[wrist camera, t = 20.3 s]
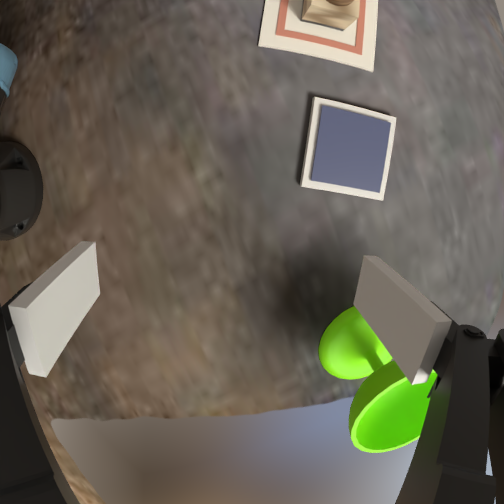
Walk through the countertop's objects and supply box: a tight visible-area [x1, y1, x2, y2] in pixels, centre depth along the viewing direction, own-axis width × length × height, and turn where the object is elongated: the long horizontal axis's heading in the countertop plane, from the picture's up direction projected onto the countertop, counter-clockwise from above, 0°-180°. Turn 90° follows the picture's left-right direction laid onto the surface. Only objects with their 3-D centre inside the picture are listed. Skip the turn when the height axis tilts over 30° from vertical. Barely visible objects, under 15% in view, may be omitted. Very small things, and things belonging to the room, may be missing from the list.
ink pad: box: [300, 97, 396, 201], centre depth 40 cm, size 12×12×2 cm
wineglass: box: [318, 306, 437, 453], centre depth 43 cm, size 16×16×18 cm
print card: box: [258, 0, 378, 72], centre depth 34 cm, size 16×16×1 cm
